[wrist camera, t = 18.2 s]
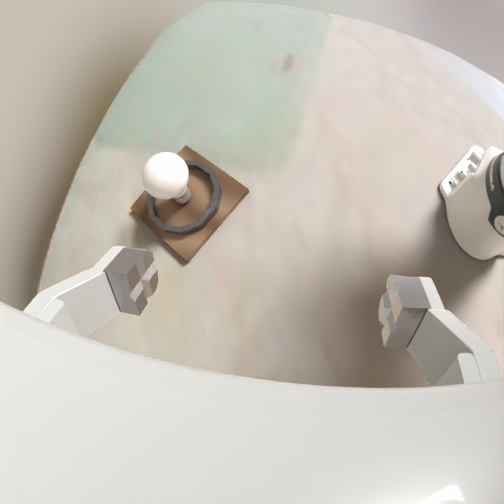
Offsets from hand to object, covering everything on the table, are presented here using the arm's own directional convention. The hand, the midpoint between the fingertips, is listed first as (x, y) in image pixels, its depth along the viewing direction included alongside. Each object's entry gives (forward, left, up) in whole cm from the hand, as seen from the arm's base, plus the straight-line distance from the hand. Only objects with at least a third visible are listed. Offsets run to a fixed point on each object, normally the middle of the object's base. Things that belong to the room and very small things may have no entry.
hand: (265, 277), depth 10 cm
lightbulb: (-3, -22, -30) cm, 37 cm away
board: (-2, -22, -31) cm, 38 cm away
